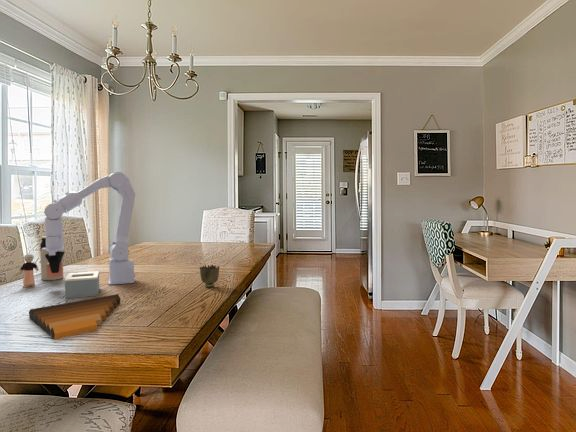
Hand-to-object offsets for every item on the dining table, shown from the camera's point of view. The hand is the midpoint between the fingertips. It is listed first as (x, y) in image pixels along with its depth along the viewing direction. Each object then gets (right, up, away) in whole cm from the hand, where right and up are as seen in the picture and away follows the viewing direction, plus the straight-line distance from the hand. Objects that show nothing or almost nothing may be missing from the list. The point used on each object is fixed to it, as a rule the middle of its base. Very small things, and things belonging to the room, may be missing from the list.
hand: (55, 271), depth 152 cm
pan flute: (+30, -9, -35) cm, 47 cm away
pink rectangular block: (0, -2, 0) cm, 2 cm away
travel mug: (-12, -6, +18) cm, 22 cm away
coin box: (+13, -7, -6) cm, 16 cm away
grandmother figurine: (-13, -6, +5) cm, 15 cm away
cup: (+57, -7, +3) cm, 58 cm away
